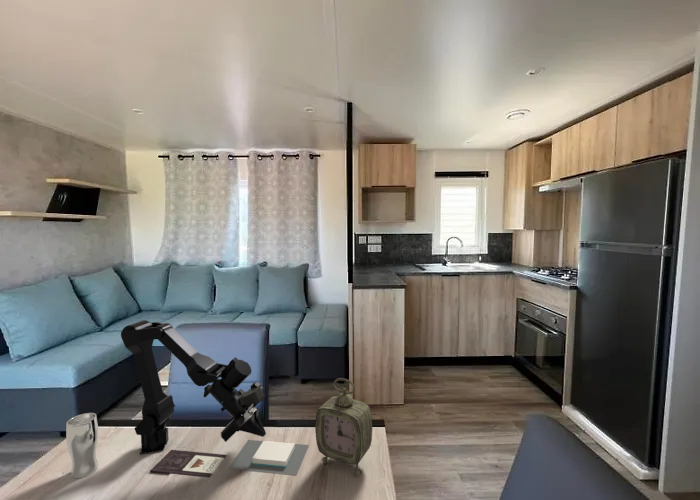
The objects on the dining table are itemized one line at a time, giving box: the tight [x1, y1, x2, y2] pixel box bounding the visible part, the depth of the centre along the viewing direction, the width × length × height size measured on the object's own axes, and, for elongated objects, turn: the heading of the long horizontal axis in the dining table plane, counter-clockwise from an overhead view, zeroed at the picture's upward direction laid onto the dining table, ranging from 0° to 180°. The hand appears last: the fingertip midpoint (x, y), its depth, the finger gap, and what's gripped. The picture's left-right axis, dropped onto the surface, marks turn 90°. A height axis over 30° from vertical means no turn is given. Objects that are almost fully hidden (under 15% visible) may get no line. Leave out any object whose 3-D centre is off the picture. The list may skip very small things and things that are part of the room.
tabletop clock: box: [314, 377, 373, 477], centre depth 96 cm, size 14×9×25 cm, turn 62°
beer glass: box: [65, 412, 99, 479], centre depth 94 cm, size 7×7×15 cm
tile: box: [252, 440, 296, 468], centre depth 99 cm, size 2×8×10 cm
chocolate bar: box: [149, 449, 227, 478], centre depth 97 cm, size 9×1×18 cm
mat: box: [227, 439, 310, 476], centre depth 99 cm, size 20×13×1 cm, turn 81°
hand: (264, 435), depth 99 cm, fingers closed
